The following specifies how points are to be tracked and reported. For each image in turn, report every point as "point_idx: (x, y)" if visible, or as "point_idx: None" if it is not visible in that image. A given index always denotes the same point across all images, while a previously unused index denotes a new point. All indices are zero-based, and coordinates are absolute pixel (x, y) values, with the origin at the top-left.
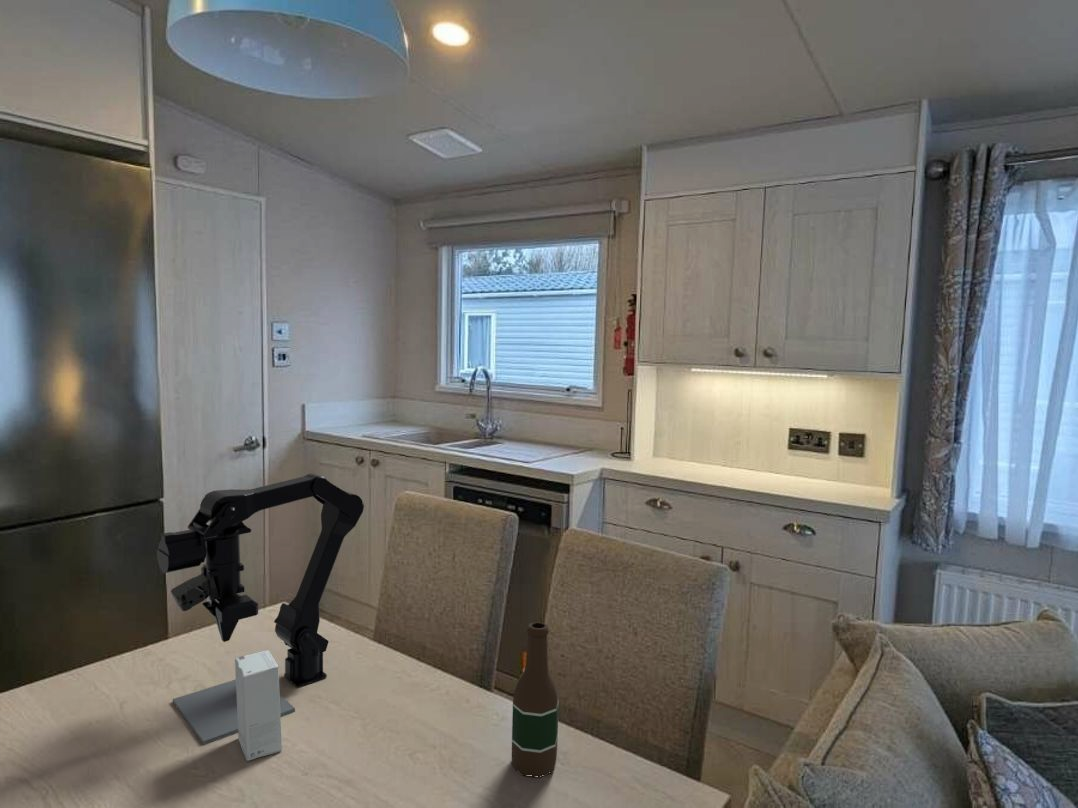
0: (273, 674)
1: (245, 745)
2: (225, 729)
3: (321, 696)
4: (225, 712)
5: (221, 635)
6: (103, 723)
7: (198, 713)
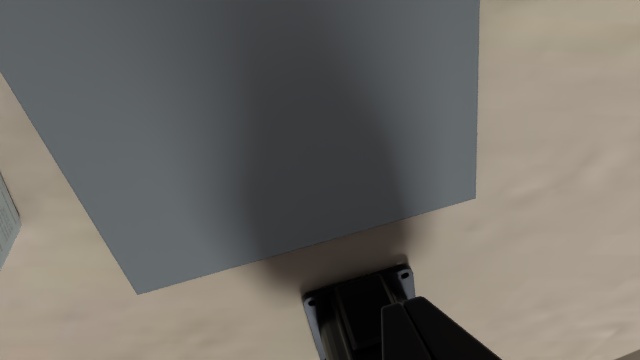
0: None
1: None
2: (33, 62)
3: (211, 345)
4: (207, 72)
5: (409, 355)
6: None
7: None
